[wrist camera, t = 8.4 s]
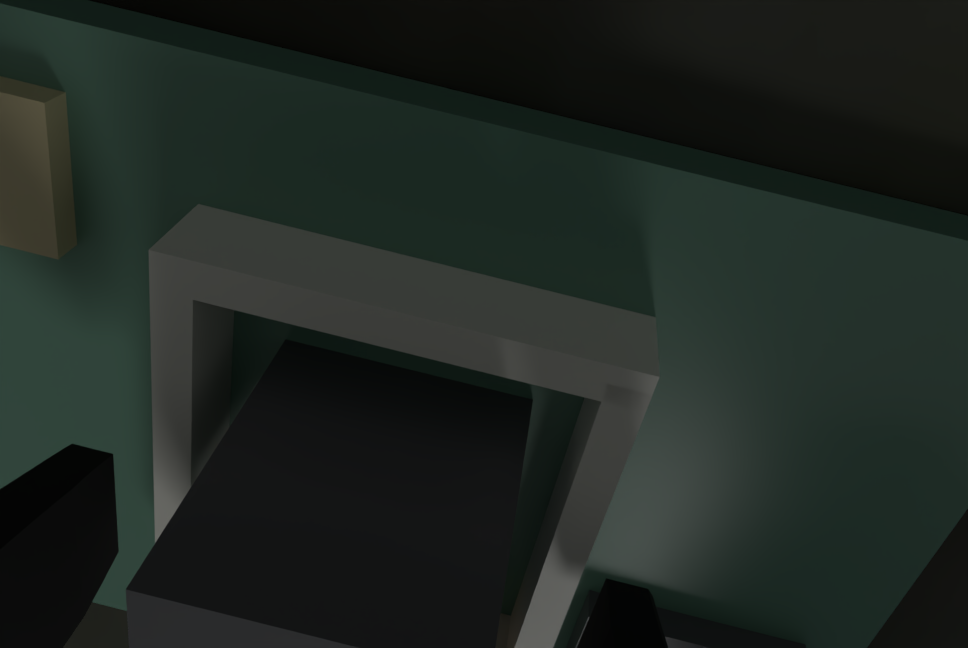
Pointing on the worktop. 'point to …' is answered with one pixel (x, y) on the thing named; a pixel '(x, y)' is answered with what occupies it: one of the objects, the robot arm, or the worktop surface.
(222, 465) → the plug
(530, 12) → the worktop surface
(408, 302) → the board
